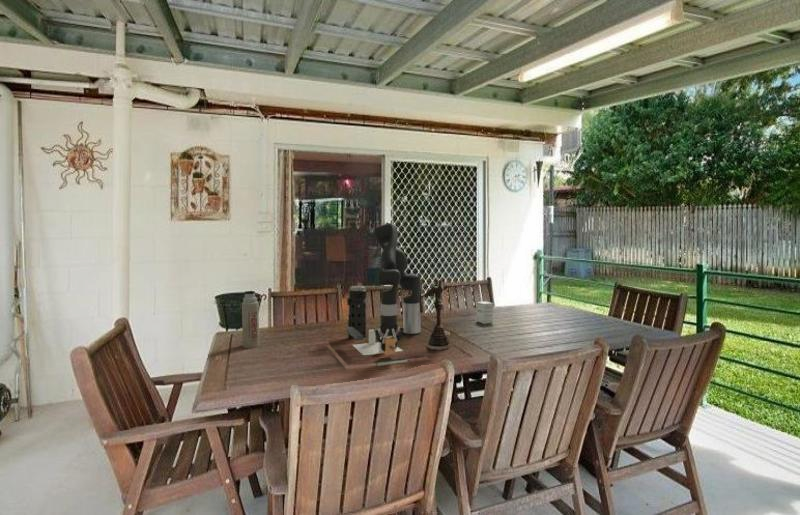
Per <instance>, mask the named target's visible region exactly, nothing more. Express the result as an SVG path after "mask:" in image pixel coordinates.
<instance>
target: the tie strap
mask: <svg viewBox="0 0 800 515" xmlns="http://www.w3.org/2000/svg"><path fill="white" fill-rule="evenodd" d="M345 332H347V334H348V333H349V334H350V335H351V336H352V337H354V338H355V339H354V340H356V341H363V340H364V338H363V335H362V334H361V333H359V332H358V331H357V330H356V329H354V328H353V327H348V326H346V327H345Z"/></svg>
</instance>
